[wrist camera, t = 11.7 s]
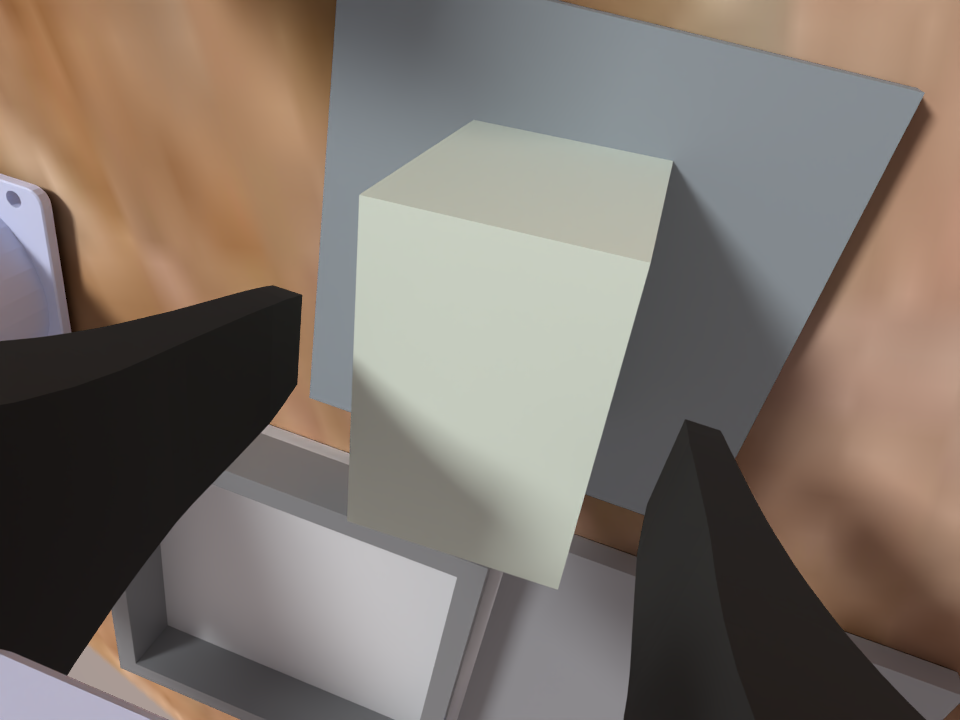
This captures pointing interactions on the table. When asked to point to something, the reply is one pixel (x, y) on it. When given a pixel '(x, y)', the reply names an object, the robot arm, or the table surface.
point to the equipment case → (385, 613)
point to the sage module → (494, 339)
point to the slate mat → (638, 129)
